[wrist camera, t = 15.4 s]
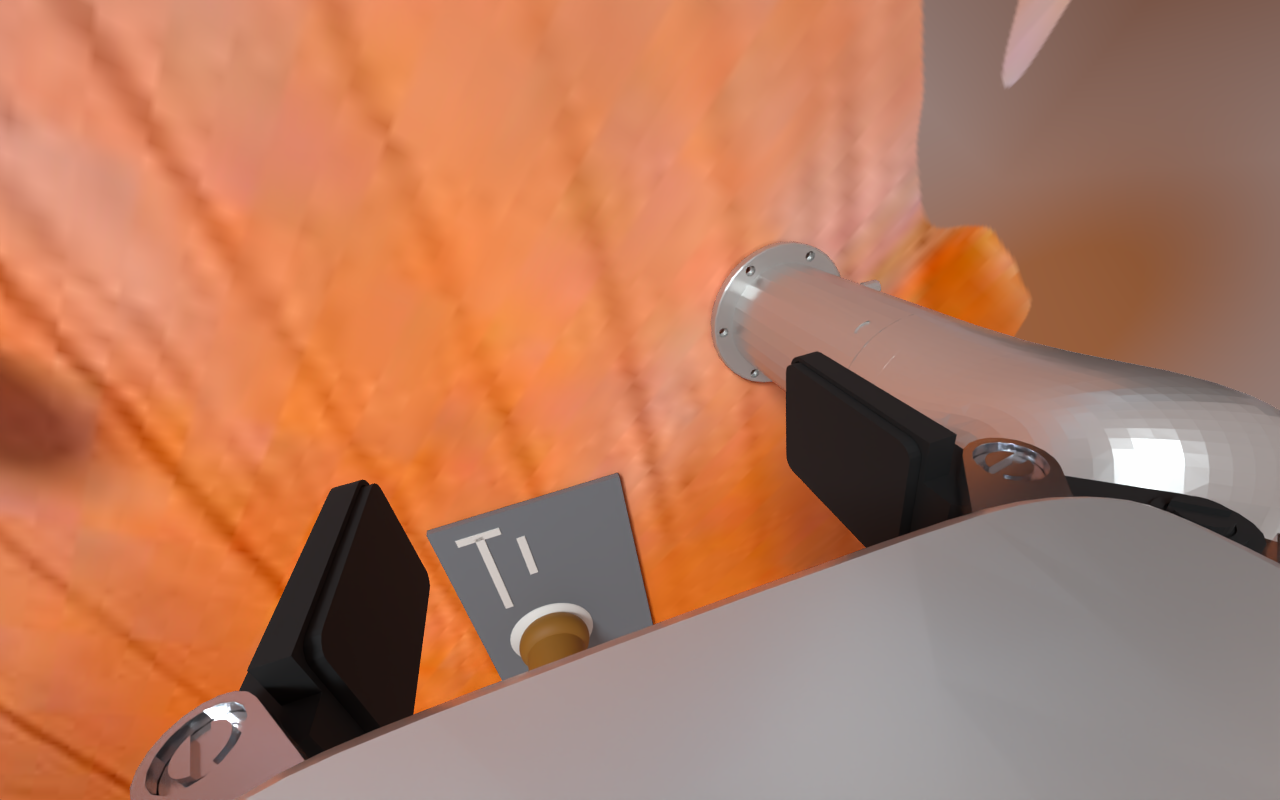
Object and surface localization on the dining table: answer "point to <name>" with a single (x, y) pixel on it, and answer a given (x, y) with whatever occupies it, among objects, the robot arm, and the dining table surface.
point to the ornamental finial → (553, 639)
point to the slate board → (546, 567)
